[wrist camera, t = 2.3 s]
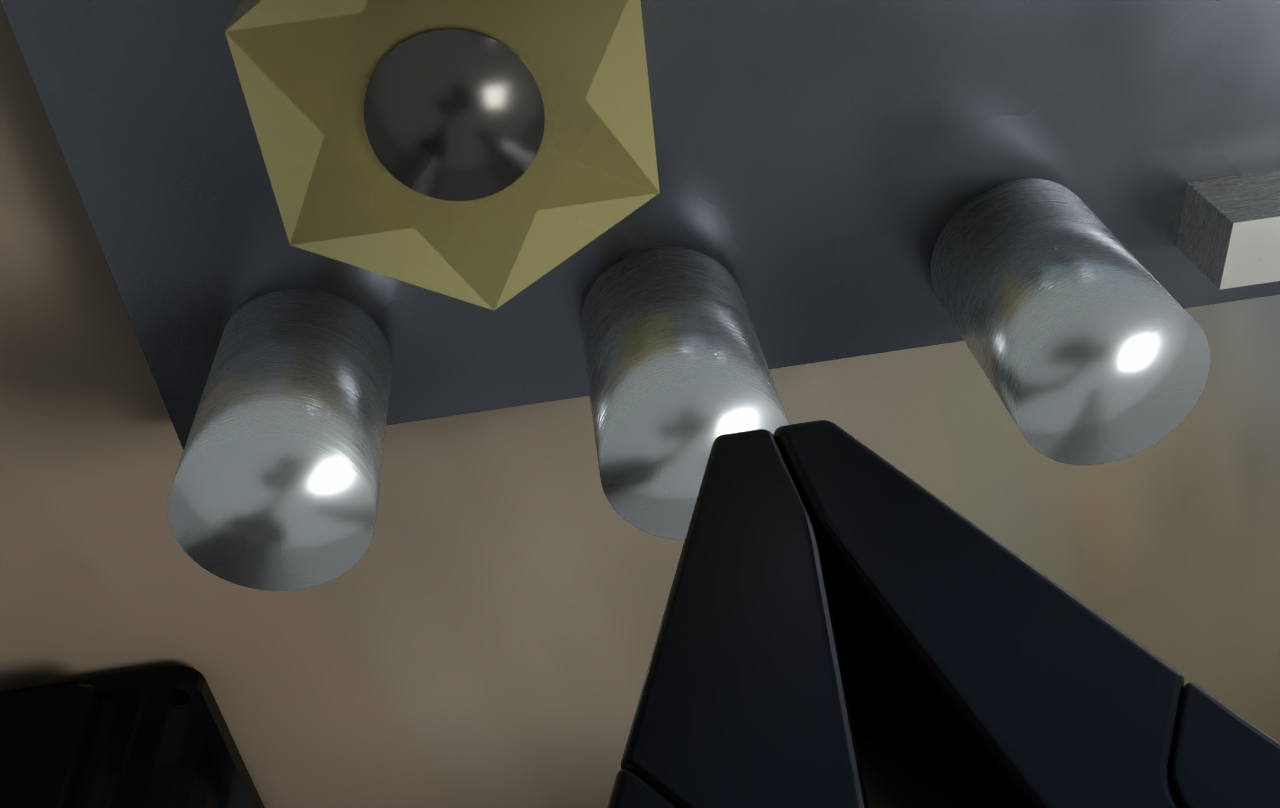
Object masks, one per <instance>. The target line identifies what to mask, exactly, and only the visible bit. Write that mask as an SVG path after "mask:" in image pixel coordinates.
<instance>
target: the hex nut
mask: <svg viewBox="0 0 1280 808" xmlns="http://www.w3.org/2000/svg"><path fill="white" fill-rule="evenodd" d="M225 34H226V37H227V40H228V44H229V47H230V50H231V54H232V57H233V60H234V63H235V67H236V70H237V73H238V76H239V80H240V83H241V86H242V90H243V93H244V96H245V99H246V103H247V106H248V109H249V113H250V116H251V119H252V122H253V126H254V129H255V132H256V136H257V139H258V142H259V145H260V149H261V152H262V155H263V158H264V162H265V165H266V168H267V172H268V175H269V178H270V181H271V185H272V188H273V191H274V195H275V198H276V201H277V204H278V208H279V211H280V214H281V217H282V221H283V224H284V227H285V231H286V234H287V237H288V240H289V244H290V245H291V246H294V247H297V248H300V249H304V250H307V251H310V252H313V253H316V254H319V255H322V256H325V257H329V258H332V259H335V260H338V261H341V262H344V263H347V264H350V265H353V266H357V267H360V268H363V269H366V270H369V271H372V272H375V273H378V274H382V275H385V276H388V277H391V278H394V279H397V280H400V281H403V282H407V283H410V284H413V285H416V286H419V287H422V288H425V289H428V290H431V291H435V292H438V293H441V294H444V295H447V296H450V297H453V298H456V299H460V300H463V301H466V302H469V303H472V304H475V305H478V306H481V307H485V308H488V309H491V310H496V309H497V308H498V307H500V306H501V305H503V304H504V303H505V302H507V301H508V300H510V299H511V298H512V297H514V296H515V295H517V294H518V293H520V292H521V291H522V290H524V289H525V288H527V287H528V286H529V285H531V284H532V283H534V282H535V281H536V280H538V279H539V278H541V277H542V276H543V275H545V274H546V273H548V272H549V271H550V270H552V269H553V268H555V267H556V266H557V265H559V264H560V263H562V262H563V261H565V260H566V259H567V258H569V257H570V256H572V255H573V254H574V253H576V252H577V251H579V250H580V249H581V248H583V247H584V246H586V245H587V244H588V243H590V242H591V241H593V240H594V239H595V238H597V237H598V236H600V235H601V234H602V233H604V232H605V231H607V230H608V229H610V228H611V227H612V226H614V225H615V224H617V223H618V222H619V221H621V220H622V219H624V218H625V217H626V216H628V215H629V214H631V213H632V212H633V211H635V210H636V209H638V208H639V207H640V206H642V205H643V204H645V203H646V202H647V201H649V200H650V199H652V198H653V197H655V196H656V195H657V194H659V193H660V190H659V180H658V170H657V160H656V150H655V140H654V130H653V120H652V111H651V101H650V91H649V81H648V71H647V61H646V51H645V41H644V31H643V21H642V11H641V1H640V0H242V1H241V2H240V4H239V6H238V8H237V10H236V12H235V13H234V15H233V17H232V19H231V21H230V23H229V25H228V26H227V28H226V30H225Z"/></svg>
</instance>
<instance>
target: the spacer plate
mask: <svg viewBox="0 0 1280 808" xmlns="http://www.w3.org/2000/svg"><path fill="white" fill-rule="evenodd" d="M241 1H242V0H0V2H1V4H2V7H3V9H4V12H5V14H6V17H7V19H8V21H9V24H10V26H11V29H12V31H13V34H14V36H15V39H16V41H17V43H18V46H19V48H20V51H21V53H22V56H23V58H24V61H25V63H26V66H27V68H28V70H29V73H30V75H31V78H32V80H33V83H34V85H35V88H36V90H37V92H38V95H39V97H40V100H41V102H42V105H43V107H44V110H45V112H46V114H47V117H48V119H49V122H50V124H51V127H52V129H53V132H54V134H55V136H56V139H57V141H58V144H59V146H60V149H61V151H62V154H63V156H64V158H65V161H66V163H67V166H68V168H69V171H70V173H71V176H72V178H73V181H74V183H75V185H76V188H77V190H78V193H79V195H80V198H81V200H82V203H83V205H84V207H85V210H86V212H87V215H88V217H89V220H90V222H91V225H92V227H93V229H94V232H95V234H96V237H97V239H98V242H99V244H100V247H101V249H102V251H103V254H104V256H105V259H106V261H107V264H108V266H109V269H110V271H111V273H112V276H113V278H114V281H115V283H116V286H117V288H118V291H119V293H120V296H121V298H122V300H123V303H124V305H125V308H126V310H127V313H128V315H129V318H130V320H131V322H132V325H133V327H134V330H135V332H136V335H137V337H138V340H139V342H140V344H141V347H142V349H143V352H144V354H145V357H146V359H147V362H148V364H149V366H150V369H151V371H152V374H153V376H154V379H155V381H156V384H157V386H158V388H159V391H160V393H161V396H162V398H163V401H164V403H165V406H166V408H167V411H168V413H169V415H170V418H171V420H172V423H173V425H174V428H175V430H176V433H177V435H178V437H179V440H180V442H181V445H182V447H183V450H184V451H183V454H182V457H181V460H180V463H179V466H178V469H177V472H176V475H175V478H174V481H173V484H172V487H171V490H170V494H169V499H168V516H169V522H170V525H171V528H172V531H173V533H174V535H175V537H176V539H177V541H178V543H179V544H180V545H181V547H182V548H183V549H184V551H185V552H186V553H187V554H188V555H189V556H190V557H191V558H192V559H193V560H194V561H195V562H197V563H198V564H199V565H200V566H202V567H203V568H205V569H206V570H208V571H209V572H211V573H212V574H214V575H216V576H218V577H220V578H222V579H224V580H227V581H230V582H232V583H235V584H238V585H242V586H245V587H249V588H255V589H260V590H271V591H289V590H299V589H304V588H309V587H314V586H317V585H320V584H323V583H326V582H328V581H330V580H333V579H335V578H336V577H338V576H340V575H342V574H343V573H345V572H346V571H348V570H349V569H350V568H351V567H353V566H354V565H355V564H356V563H357V562H358V561H359V560H360V559H361V557H362V556H363V555H364V553H365V552H366V551H367V549H368V547H369V545H370V543H371V541H372V538H373V534H374V530H375V523H376V513H377V504H378V495H379V486H380V476H381V467H382V458H383V448H384V439H385V430H386V425H391V424H398V423H405V422H411V421H418V420H425V419H432V418H439V417H446V416H452V415H459V414H466V413H473V412H480V411H487V410H493V409H500V408H507V407H514V406H521V405H527V404H534V403H541V402H548V401H555V400H562V399H568V398H575V397H582V396H589V395H590V402H591V410H592V417H593V425H594V432H595V440H596V447H597V455H598V462H599V470H600V477H601V483H602V487H603V490H604V493H605V495H606V497H607V499H608V501H609V503H610V504H611V506H612V507H613V509H614V510H615V511H616V512H617V513H618V514H619V515H620V516H621V517H622V518H623V519H624V520H626V521H627V522H628V523H630V524H631V525H633V526H634V527H636V528H638V529H640V530H642V531H644V532H646V533H649V534H652V535H655V536H659V537H663V538H668V539H677V540H685V538H686V535H687V531H688V528H689V525H690V521H691V518H692V514H693V511H694V507H695V504H696V500H697V497H698V493H699V490H700V486H701V483H702V479H703V476H704V472H705V469H706V465H707V462H708V458H709V455H710V451H711V448H712V445H713V442H714V440H715V439H716V438H717V437H718V436H719V435H722V434H729V433H736V432H743V431H750V430H757V429H765V430H768V431H770V432H771V433H772V434H774V432H775V430H776V429H777V428H778V427H781V426H785V425H789V424H788V421H787V418H786V415H785V412H784V410H783V407H782V404H781V401H780V399H779V396H778V393H777V390H776V387H775V385H774V382H773V379H772V376H771V374H770V371H769V369H773V368H780V367H787V366H794V365H800V364H807V363H814V362H821V361H828V360H835V359H841V358H848V357H855V356H862V355H869V354H875V353H882V352H889V351H896V350H903V349H910V348H916V347H923V346H930V345H937V344H944V343H951V342H957V341H965V342H966V344H967V346H968V347H969V349H970V350H971V352H972V354H973V355H974V357H975V358H976V360H977V362H978V363H979V365H980V366H981V368H982V370H983V371H984V373H985V374H986V376H987V378H988V379H989V381H990V382H991V384H992V386H993V387H994V389H995V390H996V392H997V394H998V395H999V397H1000V398H1001V400H1002V402H1003V403H1004V405H1005V406H1006V408H1007V410H1008V411H1009V413H1010V414H1011V416H1012V418H1013V419H1014V421H1015V422H1016V424H1017V426H1018V427H1019V429H1020V431H1021V432H1022V434H1023V435H1024V437H1025V439H1026V440H1027V441H1028V442H1029V443H1030V445H1031V446H1032V447H1033V448H1035V449H1036V450H1037V451H1038V452H1040V453H1041V454H1043V455H1045V456H1046V457H1048V458H1051V459H1053V460H1056V461H1059V462H1063V463H1067V464H1075V465H1094V464H1103V463H1108V462H1112V461H1116V460H1119V459H1123V458H1126V457H1128V456H1131V455H1133V454H1136V453H1138V452H1140V451H1142V450H1144V449H1146V448H1148V447H1150V446H1151V445H1153V444H1154V443H1156V442H1158V441H1159V440H1161V439H1162V438H1163V437H1165V436H1166V435H1167V434H1168V433H1170V432H1171V431H1172V430H1173V429H1174V428H1175V427H1176V426H1178V425H1179V424H1180V423H1181V422H1182V420H1183V419H1184V418H1185V417H1186V416H1187V415H1188V414H1189V412H1190V411H1191V410H1192V408H1193V407H1194V406H1195V404H1196V402H1197V401H1198V399H1199V397H1200V396H1201V394H1202V391H1203V389H1204V387H1205V385H1206V382H1207V378H1208V375H1209V369H1210V349H1209V344H1208V341H1207V338H1206V336H1205V333H1204V332H1203V330H1202V329H1201V327H1200V326H1199V324H1198V323H1197V322H1196V321H1195V320H1194V319H1193V318H1192V317H1191V316H1190V315H1189V314H1188V313H1187V312H1186V311H1185V310H1184V308H1189V307H1196V306H1203V305H1210V304H1217V303H1223V302H1230V301H1237V300H1244V299H1251V298H1258V297H1264V296H1271V295H1278V294H1280V0H640V1H641V11H642V21H643V31H644V41H645V51H646V61H647V71H648V81H649V91H650V101H651V111H652V120H653V130H654V140H655V150H656V160H657V170H658V180H659V190H660V193H659V194H657V195H656V196H655V197H653V198H652V199H650V200H649V201H647V202H646V203H645V204H643V205H642V206H640V207H639V208H638V209H636V210H635V211H633V212H632V213H631V214H629V215H628V216H626V217H625V218H624V219H622V220H621V221H619V222H618V223H617V224H615V225H614V226H612V227H611V228H610V229H608V230H607V231H605V232H604V233H602V234H601V235H600V236H598V237H597V238H595V239H594V240H593V241H591V242H590V243H588V244H587V245H586V246H584V247H583V248H581V249H580V250H579V251H577V252H576V253H574V254H573V255H572V256H570V257H569V258H567V259H566V260H565V261H563V262H562V263H560V264H559V265H557V266H556V267H555V268H553V269H552V270H550V271H549V272H548V273H546V274H545V275H543V276H542V277H541V278H539V279H538V280H536V281H535V282H534V283H532V284H531V285H529V286H528V287H527V288H525V289H524V290H522V291H521V292H520V293H518V294H517V295H515V296H514V297H512V298H511V299H510V300H508V301H507V302H505V303H504V304H503V305H501V306H500V307H498V308H497V309H496V310H491V309H488V308H485V307H481V306H478V305H475V304H472V303H469V302H466V301H463V300H460V299H456V298H453V297H450V296H447V295H444V294H441V293H438V292H435V291H431V290H428V289H425V288H422V287H419V286H416V285H413V284H410V283H407V282H403V281H400V280H397V279H394V278H391V277H388V276H385V275H382V274H378V273H375V272H372V271H369V270H366V269H363V268H360V267H357V266H353V265H350V264H347V263H344V262H341V261H338V260H335V259H332V258H329V257H325V256H322V255H319V254H316V253H313V252H310V251H307V250H304V249H300V248H297V247H294V246H291V245H290V244H289V240H288V237H287V234H286V231H285V227H284V224H283V221H282V217H281V214H280V211H279V208H278V204H277V201H276V198H275V195H274V191H273V188H272V185H271V181H270V178H269V175H268V172H267V168H266V165H265V162H264V158H263V155H262V152H261V149H260V145H259V142H258V139H257V136H256V132H255V129H254V126H253V122H252V119H251V116H250V113H249V109H248V106H247V103H246V99H245V96H244V93H243V90H242V86H241V83H240V80H239V76H238V73H237V70H236V67H235V63H234V60H233V57H232V54H231V50H230V47H229V44H228V40H227V37H226V34H225V30H226V28H227V26H228V25H229V23H230V21H231V19H232V17H233V15H234V13H235V12H236V10H237V8H238V6H239V4H240V2H241Z"/></svg>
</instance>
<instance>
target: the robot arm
mask: <svg viewBox="0 0 1280 808" xmlns="http://www.w3.org/2000/svg"><path fill="white" fill-rule="evenodd" d="M1183 686H1184V677H1183V675H1182V674H1181V673H1179V672H1178V671H1177V670H1175V669H1174V668H1173V667H1171V666H1170V665H1168V664H1167V663H1166V662H1164V661H1163V660H1161V659H1160V658H1159V657H1157V656H1156V655H1155V654H1153V653H1152V652H1150V651H1149V650H1148V649H1146V648H1145V647H1143V646H1142V645H1141V644H1139V643H1138V642H1136V641H1135V640H1134V639H1132V638H1131V637H1130V636H1128V635H1127V634H1125V633H1124V632H1123V631H1121V630H1120V629H1118V628H1117V627H1116V626H1114V625H1113V624H1112V623H1110V622H1109V621H1107V620H1106V619H1105V618H1103V617H1102V616H1100V615H1099V614H1098V613H1096V612H1095V611H1093V610H1092V609H1091V608H1089V607H1088V606H1087V605H1085V604H1084V603H1082V602H1081V601H1080V600H1078V599H1077V598H1075V597H1074V596H1073V595H1071V594H1070V593H1069V592H1067V591H1066V590H1064V589H1063V588H1062V587H1060V586H1059V585H1057V584H1056V583H1055V582H1053V581H1052V580H1050V579H1049V578H1048V577H1046V576H1045V575H1044V574H1042V573H1041V572H1039V571H1038V570H1037V569H1035V568H1034V567H1032V566H1031V565H1030V564H1028V563H1027V562H1026V561H1024V560H1023V559H1021V558H1020V557H1019V556H1017V555H1016V554H1014V553H1013V552H1012V551H1010V550H1009V549H1008V548H1006V547H1005V546H1003V545H1002V544H1001V543H999V542H998V541H996V540H995V539H994V538H992V537H991V536H989V535H988V534H987V533H985V532H984V531H983V530H981V529H980V528H978V527H977V526H976V525H974V524H973V523H971V522H970V521H969V520H967V519H966V518H965V517H963V516H962V515H960V514H959V513H958V512H956V511H955V510H953V509H952V508H951V507H949V506H948V505H946V504H945V503H944V502H942V501H941V500H940V499H938V498H937V497H935V496H934V495H933V494H931V493H930V492H928V491H927V490H926V489H924V488H923V487H922V486H920V485H919V484H917V483H916V482H915V481H913V480H912V479H910V478H909V477H908V476H906V475H905V474H903V473H902V472H901V471H899V470H898V469H897V468H895V467H894V466H892V465H891V464H890V463H888V462H887V461H885V460H884V459H883V458H881V457H880V456H879V455H877V454H876V453H874V452H873V451H872V450H870V449H869V448H867V447H866V446H865V445H863V444H862V443H860V442H859V441H858V440H856V439H855V438H854V437H852V436H851V435H849V434H848V433H847V432H845V431H844V430H842V429H841V428H840V427H838V426H837V425H835V424H834V423H832V422H829V421H826V420H820V421H813V422H806V423H799V424H792V425H785V426H781V427H778V428H777V429H776V430H775V432H774V434H772V433H771V432H770V431H768V430H765V429H757V430H750V431H743V432H736V433H729V434H722V435H719V436H718V437H717V438H716V439H715V440H714V442H713V445H712V448H711V451H710V455H709V458H708V462H707V465H706V469H705V472H704V476H703V479H702V483H701V486H700V490H699V493H698V497H697V500H696V504H695V507H694V511H693V514H692V518H691V521H690V525H689V528H688V531H687V535H686V538H685V542H684V545H683V549H682V552H681V556H680V559H679V563H678V566H677V570H676V573H675V577H674V580H673V584H672V587H671V591H670V594H669V598H668V601H667V605H666V608H665V612H664V615H663V619H662V622H661V625H660V629H659V632H658V636H657V639H656V643H655V646H654V650H653V653H652V657H651V660H650V664H649V667H648V671H647V674H646V678H645V681H644V685H643V688H642V692H641V695H640V699H639V702H638V706H637V709H636V713H635V716H634V719H633V723H632V726H631V730H630V733H629V737H628V740H627V744H626V747H625V751H624V754H623V758H622V761H621V769H622V770H621V771H620V772H619V773H618V774H617V776H616V780H615V783H614V787H613V790H612V793H611V797H610V800H609V804H608V807H607V808H1280V743H1279V742H1278V741H1276V740H1275V739H1273V738H1272V737H1270V736H1269V735H1267V734H1266V733H1265V732H1263V731H1262V730H1260V729H1259V728H1257V727H1256V726H1254V725H1253V724H1251V723H1250V722H1248V721H1247V720H1246V719H1244V718H1243V717H1241V716H1240V715H1239V714H1237V713H1236V712H1234V711H1233V710H1232V709H1230V708H1229V707H1227V706H1226V705H1225V704H1223V703H1222V702H1220V701H1219V700H1218V699H1216V698H1215V697H1214V696H1212V695H1211V694H1209V693H1208V692H1207V691H1205V690H1204V689H1202V688H1201V687H1200V686H1198V685H1197V684H1195V683H1187V684H1186V685H1185V686H1184V688H1183ZM176 689H182V690H176ZM183 690H185V691H183ZM0 808H265V807H264V805H263V803H262V801H261V799H260V797H259V794H258V792H257V790H256V788H255V786H254V784H253V781H252V779H251V777H250V775H249V773H248V770H247V768H246V766H245V764H244V762H243V760H242V757H241V755H240V753H239V751H238V749H237V747H236V744H235V742H234V740H233V738H232V736H231V734H230V731H229V729H228V727H227V725H226V723H225V720H224V718H223V716H222V714H221V712H220V710H219V707H218V705H217V703H216V701H215V699H214V697H213V694H212V692H211V690H210V688H209V686H208V684H207V681H206V679H205V678H204V676H203V675H202V674H201V673H200V672H199V671H197V670H195V669H194V668H191V667H187V666H169V667H163V668H156V669H149V670H143V671H136V672H130V673H123V674H116V675H110V676H103V677H97V678H90V679H84V680H77V681H70V682H64V683H57V684H51V685H44V686H37V687H31V688H24V689H18V690H11V691H5V692H0Z"/></svg>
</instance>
